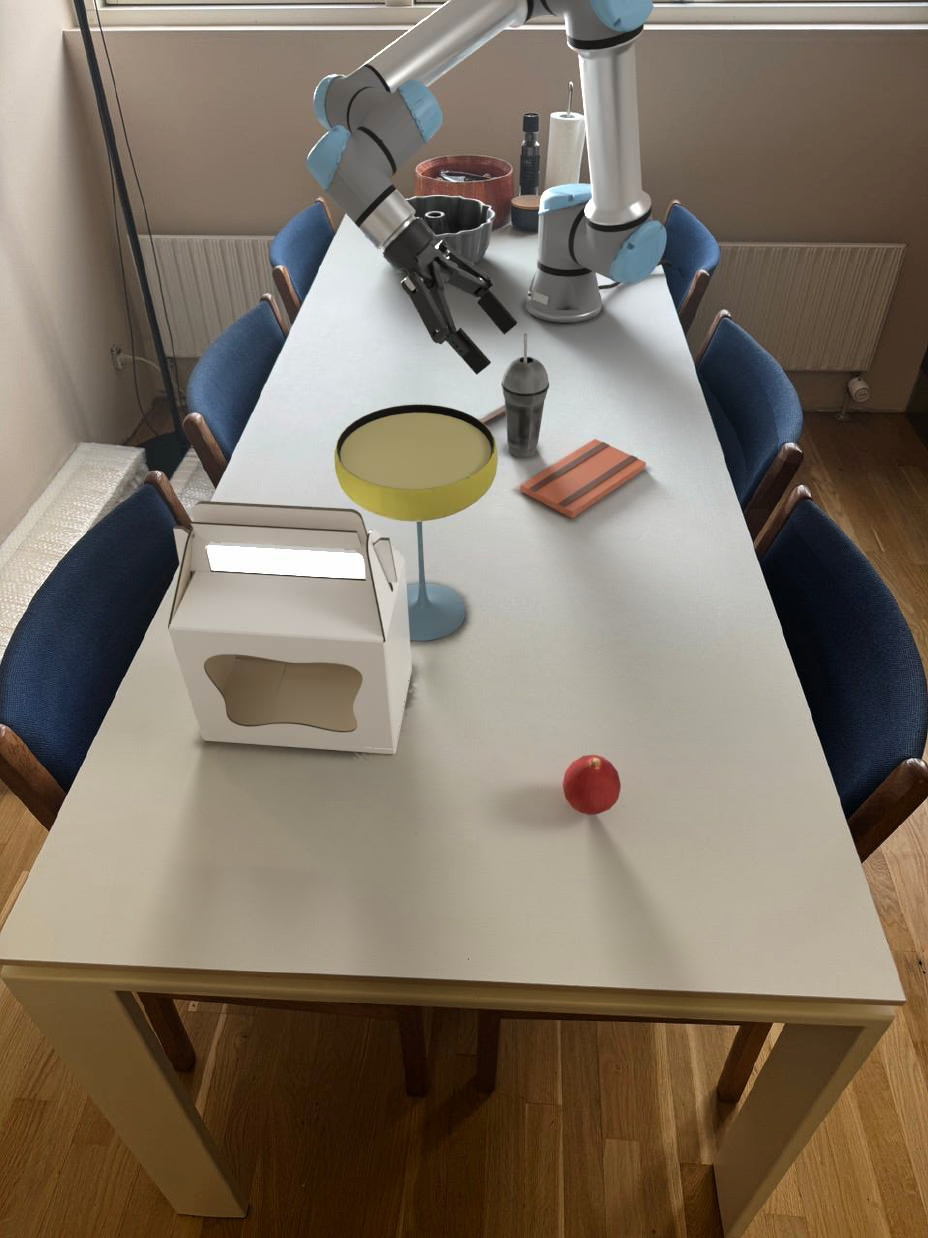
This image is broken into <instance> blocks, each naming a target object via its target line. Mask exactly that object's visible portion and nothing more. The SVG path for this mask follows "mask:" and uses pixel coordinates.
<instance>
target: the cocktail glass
mask: <svg viewBox="0 0 928 1238" xmlns="http://www.w3.org/2000/svg"><path fill="white" fill-rule="evenodd" d="M478 419H479V418H477V417H475V416H473V415H472V414H469V413H467V412H466V411H463V410H459V409H456V408H453V407H448V406H443V405H436V404H422V403H421V404H419V403H418V404H402V405H396V406H395V405H394V406H389V407H385V408H381V409H379V410H375V411H371V412H369V413H367V414H365V415H363V416H360V417H359V418H358V419H356V420H354V421H353V422H352V423H349V425H348V426H347V427H345V429H343V431H342V432H341V434H339V437H338V438H337V440H336V444H335V448H334V470H335V474H336V478H337V480H338V483H339V486H340V488H341V490H342V491H343V492H344V493H345V495H346V496H347V497H348V499H350V500H351V501H352V502H353V503H354V504H356V505H357V506H359V507H361V508H362V509H364V510H366V511H368V512H371V513H372V514H374V515H377V516H380V517H383V518H387V519H391V520H395V521H401V522H416V534H417V535H416V536H417V554H418V555H417V556H418V558H417V559H418V560H417V561H418V583H415V584H410V585H407V601H408V617H409V632H410V641H415V642H430V641H436V640H438V639H442V638H445V637H448V636H449V635H450V634H453V633H454V632H455V631H457V630H458V628H459V627H461V625H462V623H463V622H464V620H465V617H466V605H465V602H464V601H463V599H462V597H460V595H459V594H458V593H457V592H455V591H453V589H451V588H448V587H446V586H443V585H440V584H437V583H427V582H426V575H425V559H424V539H423V538H424V537H423V522H428V521H434V520H439V519H445V518H447V517H450V516H453V515H456V514H457V513H460V512H462V511H464V510H466V509H468V508H469V507H471V506H472V505H474V504H475V503H477V502H478V501H480V499H481V498H483V496H486V494H487V492H488V491H489V489H491V487H492V485H493V483H494V481H495V478H496V475H497V471H498V470H497V469H498V461H499V460H498V459H499V455H498V454H499V453H498V447H497V442H496V439H495V436H494V434H493V432H492V431H491V429H490V428H489V427H488V426H487V425H485V424H484V423H482V422H481V421H480V420H478Z"/></svg>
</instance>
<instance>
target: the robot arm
mask: <svg viewBox="0 0 928 1238" xmlns="http://www.w3.org/2000/svg"><path fill="white" fill-rule="evenodd" d="M653 2H654V0H448V1H447V2H445V3H444V4H442V5H441V6H440V7H439V8H437V9H436V10H434V11H433V12H432V13H431V14H430V15H428V16H427V17H425V18H424V19H422V20H421V21H419V22H418V23H417V24H416V25H415V26H413V27H412V28H411V29H409V30H408V31H407V32H405V33H404V34H403V35H401V36H400V37H398V38H397V39H396V40H394V41H393V42H391V43H390V44H389V45H387V46H386V47H384V49H382V50H381V51H379V52H378V53H377V54H376V55H374V56H373V57H372V58H370V59H369V60H367V61H366V62H364V64H362V65H361V66H359V67H358V68H357V69H355V70H354V71H352V72H351V73H349V74H347V75H344V74H331V75H327V76H326V77H324V78H323V79H322V80H321V81H320V82H319V84H318V85H317V86H316V89H315V91H314V95H313V110H314V114H315V117H316V119H317V120H318V122H319V123H320V124H321V126H322V127H324V128H325V129H327V130H328V131H327V132H326V133H325V134H324V135H323V136H322V137H321V138H320V139H319V140H318V142H317V143H316V144H315V145H314V146H313V148H312V149H311V151H310V152H309V154H308V155H307V159H306V168H307V170H308V171H309V172H310V174H311V175H312V176H313V178H314V179H315V180H316V181H317V183H318V184H319V185H320V187H321V188H322V189H323V191H324V193H325V194H327V195H328V196H329V197H330V198H331V199H332V201H334V203H336V205H337V206H338V207H339V208H340V209H341V210H342V211H343V212H344V213H345V214H346V216H348V218H349V219H350V220H351V221H352V222H353V223H354V224H355V226H356V228H358V229H359V230H360V231H361V232H362V234H363V235H364V237H365V238H366V239H367V240H368V241H370V243H371V244H372V245H373V246H374V247H375V249H376V250H381V249H382V250H383V252H382V257H383V258H384V259H385V260H386V262H387V263H388V264H389V265H390V266H391V267H392V268H393V270H394V271H395V272H396V273H398V274H399V273H402V272H403V271H404V270H405V271H406V272H407V273H408V275H406V276H405V278H404V279H403V280H402V281H400V286H401V287H402V289H403V290H404V291H405V293H406V294H407V295H408V296H409V298H410V300H411V302H412V303H413V306H414V307H415V310H416V311H417V313H418V315H419V317H420V319H421V321H422V324H423V325H424V327H425V329H426V330H427V332H428V334H429V336H430V338H431V341H433V343H435V344H438V345H442V344H443V343H445V342H446V343H447V344H448V345H449V346H450V347H451V348H452V349H453V350H454V351H455V352H456V354H457V355H458V356H459V357H460V358H461V359H462V360H463V362H464V363H465V364H466V365H467V366H468V367H469V368H470V369H471V370H472V371H473V372H474V373H475V375H476V376H477V375H478V374H480V373H481V372H483V370H485V369H486V368H487V367H488V366H490V365H491V363H492V362H491V360H490V359H489V358H488V357H487V356H486V355H485V353H483V351H482V350H481V348H480V347H478V345H477V344H476V343H475V342H474V341H473V339H472V338H471V337H470V336H469V335H468V334H467V333H466V332H465V331H464V330H463V328H462V327H459V328H458V329H457V326H456V323H455V321H454V317H453V315H452V312H451V309H450V307H449V304H448V300H447V298H446V295H445V292H444V291H445V286H446V285H449V286H451V287H453V288H456V289H458V290H459V291H462V292H464V293H466V294H468V295H469V296H472V297H474V298H476V299H477V301H476V304H477V306H479V307H480V309H481V310H482V311H483V312H484V313H485V315H486V316H488V318H489V319H490V320H491V321H492V323H493V324H495V326H496V327H497V328H498V330H499V331H500V332H501V334H502V335H507V333H508V332H510V331H511V330H512V329H513V328H514V327H516V326H518V323H519V322H518V321H517V320H516V319H515V317H514V316H513V315H512V314H511V313H510V311H509V310H508V309H507V308H506V307H505V305H503V303H502V302H501V301H500V300H499V298H498V297H497V296H496V295H495V294H494V292H493V291H492V290H491V288H492V287H493V286H494V282H493V280H492V278H491V276H490V275H489V274H488V273H486V272H485V271H483V270H482V269H481V268H480V267H478V266H477V265H475V264H473V263H471V262H470V261H468V260H467V259H466V258H464V257H463V256H462V255H460V254H459V253H458V252H456V251H455V250H454V249H453V248H452V247H451V246H450V245H449V244H448V243H447V242H446V241H445V240H442V241H441V242H440V243H439V244H438V245H437V246H436V247H434V246H433V245H432V243H431V242H432V241H433V240H434V239H435V233H434V232H433V231H432V230H431V229H430V227H429V226H428V225H427V224H426V223H425V222H424V220H423V219H422V218H419V217H418V218H416V217H415V216H414V214H415V209H414V208H413V207H412V206H411V205H410V204H409V203H408V201H407V200H406V199H407V198H405V197H404V196H403V195H402V193H401V192H400V191H399V190H398V189H397V187H396V186H395V184H393V183H392V181H391V180H390V179H391V178H392V177H393V176H394V175H396V173H397V172H398V171H399V170H400V169H401V168H402V167H404V166H405V165H406V164H407V162H409V161H410V160H411V159H412V158H413V157H414V156H416V154H417V153H418V152H419V151H421V150H422V149H423V148H424V147H425V146H426V145H428V144H429V141H430V140H431V139H432V138H433V136H434V135H435V134H436V133H437V132H438V131H439V130H440V128H442V125H443V120H444V119H443V117H444V116H443V112H442V109H441V106H440V104H439V102H438V99H437V98H436V97H435V95H434V94H433V92H432V91H431V90H430V89H429V86H431V85H432V84H433V83H435V82H436V81H437V80H439V79H440V78H441V77H443V76H444V75H446V74H447V73H448V72H450V71H451V70H452V69H453V68H455V67H456V66H457V65H458V64H460V63H462V62H463V61H464V60H465V59H467V58H468V57H469V56H470V55H472V54H473V53H475V52H477V50H479V49H480V48H481V47H483V46H484V45H485V44H487V43H488V42H489V41H490V40H492V39H493V38H494V37H496V36H497V35H498V34H500V33H502V31H504V30H505V29H506V28H508V27H509V28H513V29H517V28H520V27H521V26H522V25H524V24H525V23H526V22H528V21H529V20H532V19H535V18H537V17H544V16H554V17H557V18H561V19H564V22H565V31H566V32H565V33H566V41H567V46H568V48H570V49H571V50H572V51H574V52H575V53H577V55H578V60H579V61H578V63H579V72H580V84H581V93H582V94H581V96H582V104H583V115H584V125H585V136H586V147H587V148H586V149H587V156H588V167H589V168H588V169H589V177H590V183H582V182H581V183H565V184H561V185H560V184H559V185H555V186H553V187H549V188H548V189H546V190H545V191H543V193H542V195H541V197H540V203H539V211H538V213H537V214H538V218H537V219H538V221H537V222H538V223H537V248H536V249H537V252H536V253H537V254H536V268H535V272H534V274H533V276H532V280H531V283H530V285H529V288H528V291H527V292H526V297H525V309H526V311H527V312H528V313H529V314H530V315H532V316H534V317H535V318H537V319H539V320H542V321H546V322H550V323H551V322H552V323H558V324H572V323H580V322H584V321H588V320H591V319H593V318H595V317H596V316H597V315H599V314H600V312H601V310H602V295H601V292H600V290H601V291H602V290H608V289H613V288H616V287H617V286H619V285H621V284H623V285H625V286H626V285H627V286H633V285H638V284H639V283H641V282H643V281H644V280H646V279H647V278H648V277H650V275H651V274H652V273H653V272H654V271H655V270H656V268H657V267H659V266H661V265H667V266H668V267H670V268H671V267H672V268H673V267H674V264H673V263H672V262H671V261H669V260H667V259H662V257H663V255H664V252H665V249H666V246H667V234H668V233H667V230H666V228H665V226H664V225H663V224H662V223H661V221H659V220H657V219H653V211H652V210H653V209H652V200H651V196H650V195H649V193H647V192H646V191H644V190H643V187H642V167H641V147H640V126H639V107H638V89H637V88H638V87H637V72H636V71H637V69H636V68H637V67H636V51H635V50H636V48H635V43H636V42H637V40H638V39H639V38H640V36H641V35H642V34H643V32H644V29H645V26H644V25H645V24H644V23H645V22H646V21H647V20H648V18H649V17H650V16H651V14H652V12H653V10H654V8H655V7H654V3H653ZM448 256H449V257H448ZM661 259H662V260H661ZM597 274H598V275H601V276H603V277H605V278H607V279H609V280H610V281H612V282H613V283H611V284H601V285H599V282H598V277H597Z"/></svg>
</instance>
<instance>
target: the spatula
mask: <svg viewBox="0 0 928 1238" xmlns="http://www.w3.org/2000/svg"><path fill="white" fill-rule="evenodd" d="M504 416H506V412H505V404H504V405H502V406H500V407H499V408H496V409H494V410H493V411H491V412H489V413H487V414H486V415H483V416H482V417H480V418H477V419H478V420H480V421H481V422H482V423H484V424H485V425H486V426H487V425H489V424H491V423H493V422H495V421H496V420H497V421H498V419H500V418H503V417H504Z"/></svg>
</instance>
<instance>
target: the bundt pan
mask: <svg viewBox="0 0 928 1238" xmlns="http://www.w3.org/2000/svg"><path fill="white" fill-rule="evenodd" d="M405 199H406V200H407V201H408V203H409V204H410V205H411V206H412V207H413V208H414V209H415V214H414V216H415V217H416V218H418V217H419V218H422V219H423V220H424V222H425V223H426V224H427V225H428V226H429V227H430V229H431V230H432V231H433V232H434V233H435V239H434V240H433V241H432V242H431V243H432V245H433V246H434V247H436V246H437V245H438V244H439V243H440V242H441V241H442V240H445V241H446V242H447V243H448V244H449V245H450V246H451V247H452V248H453V249H454V250H455V251H456V252H458V253H459V254H460V255H462V256H463V257H464V258H466V259H467V260H468V261H470V262H471V263H473V264H474V265H475V264H477V263H478V262H480V261H481V260H483V258H484V256H485V255H486V252H487V250H488V248H489V245H490V242H491V234H492V229H493V224H494V223H493V222H494V220H495V219H496V212H495V211H494V210H492V205H488V204H485V203H484V202H483V201H481V200H479V199H475V198H467V197H466V198H465V197H464V196H461V195H457V196H456V195H453V196H450V195H445V194H433V195H426V196H412V197H411V198H405ZM448 257H449V256H448Z"/></svg>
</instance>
